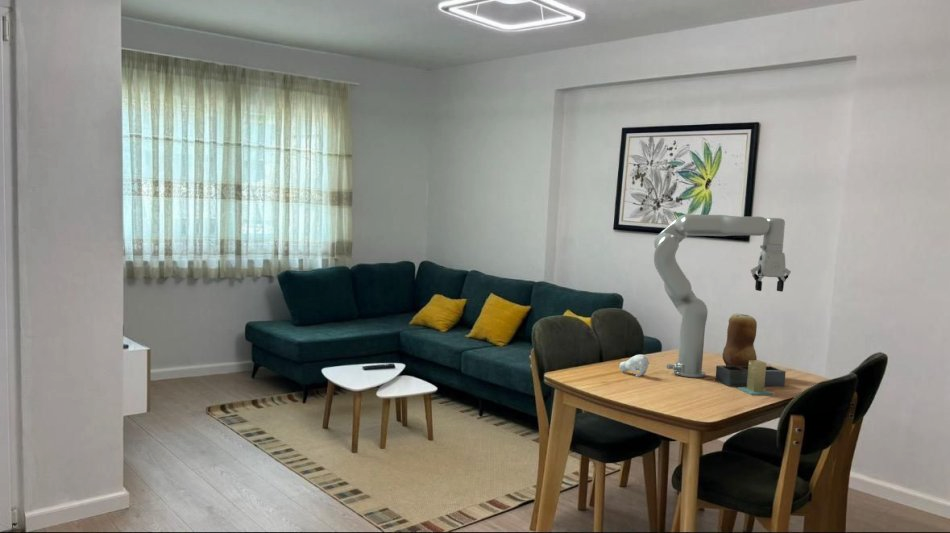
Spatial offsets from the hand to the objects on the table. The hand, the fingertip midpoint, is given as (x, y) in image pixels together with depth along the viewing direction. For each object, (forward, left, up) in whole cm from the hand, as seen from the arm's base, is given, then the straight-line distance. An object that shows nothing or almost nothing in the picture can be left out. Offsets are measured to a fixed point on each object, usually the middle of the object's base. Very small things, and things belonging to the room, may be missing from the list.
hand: (769, 290), depth 292 cm
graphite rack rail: (-10, -7, -36) cm, 38 cm away
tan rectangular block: (-16, -20, -36) cm, 44 cm away
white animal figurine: (-53, +8, -37) cm, 65 cm away
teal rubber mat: (-16, -20, -36) cm, 44 cm away
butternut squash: (-4, +11, -36) cm, 38 cm away
